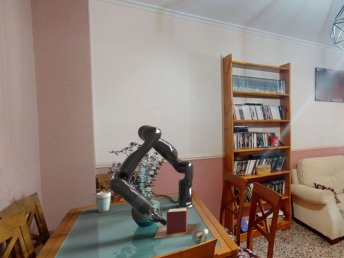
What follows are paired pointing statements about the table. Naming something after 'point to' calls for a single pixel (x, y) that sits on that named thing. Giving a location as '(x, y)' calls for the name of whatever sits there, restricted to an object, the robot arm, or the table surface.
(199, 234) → the eagle figurine
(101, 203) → the coffee cup
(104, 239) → the table surface
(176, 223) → the book
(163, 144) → the robot arm
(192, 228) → the mat
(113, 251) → the table surface
